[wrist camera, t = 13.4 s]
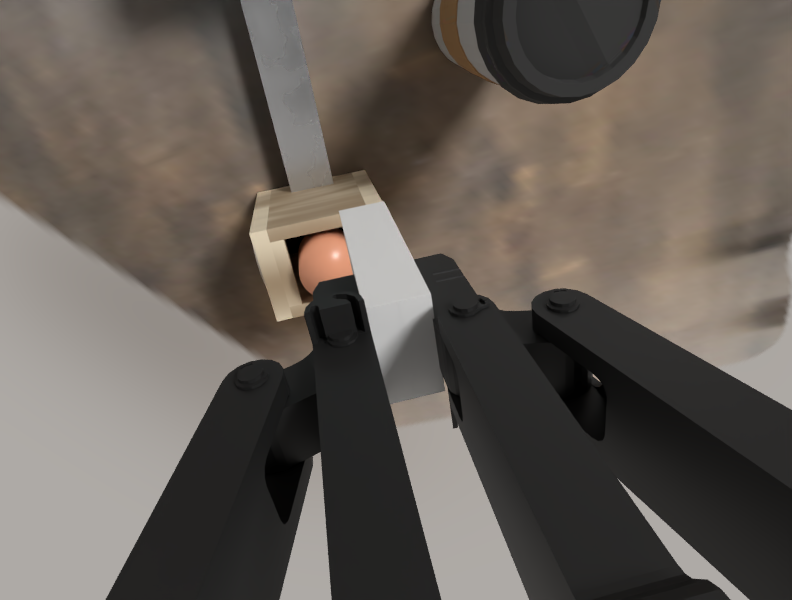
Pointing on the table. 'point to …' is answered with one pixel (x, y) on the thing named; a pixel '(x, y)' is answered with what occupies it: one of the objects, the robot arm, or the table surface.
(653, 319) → the table surface
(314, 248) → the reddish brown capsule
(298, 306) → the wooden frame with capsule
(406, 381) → the robot arm
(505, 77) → the coffee cup
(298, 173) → the rail
